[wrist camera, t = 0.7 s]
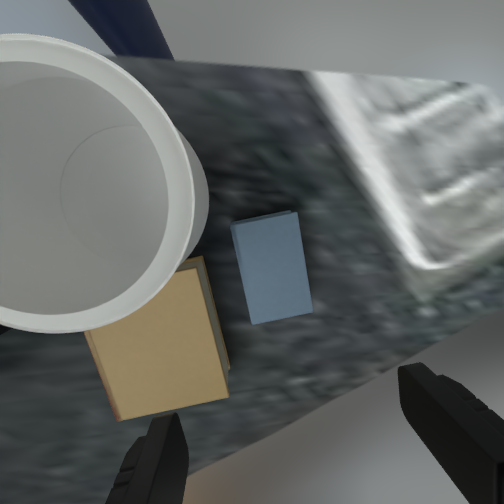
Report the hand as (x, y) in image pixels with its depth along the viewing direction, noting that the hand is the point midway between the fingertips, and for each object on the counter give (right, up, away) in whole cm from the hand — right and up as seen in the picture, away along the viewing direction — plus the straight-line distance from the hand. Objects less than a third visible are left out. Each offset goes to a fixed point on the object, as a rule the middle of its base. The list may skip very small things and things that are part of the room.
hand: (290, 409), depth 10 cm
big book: (-10, -1, +17) cm, 20 cm away
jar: (-10, +10, +15) cm, 20 cm away
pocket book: (0, +5, +16) cm, 17 cm away
